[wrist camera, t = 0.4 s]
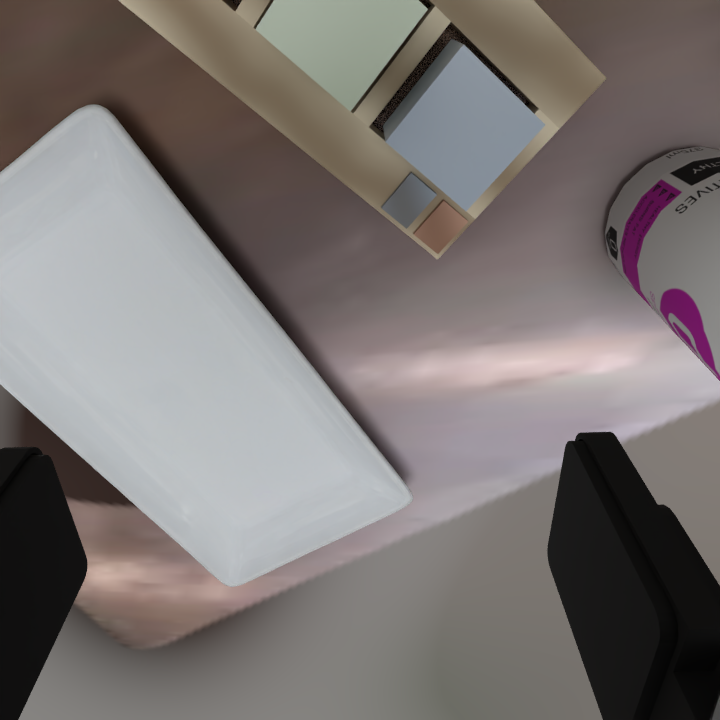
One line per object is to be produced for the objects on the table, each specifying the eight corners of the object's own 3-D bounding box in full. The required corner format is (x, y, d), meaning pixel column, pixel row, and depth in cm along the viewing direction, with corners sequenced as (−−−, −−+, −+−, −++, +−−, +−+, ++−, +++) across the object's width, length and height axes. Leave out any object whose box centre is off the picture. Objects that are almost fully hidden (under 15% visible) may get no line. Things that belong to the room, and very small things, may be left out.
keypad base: (209, -334, 24) (195, -364, 22) (593, 74, 31) (608, 79, 29) (73, -49, 29) (52, -52, 27) (434, 247, 36) (438, 261, 34)
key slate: (451, 38, 29) (463, 44, 25) (524, 110, 30) (545, 124, 27) (382, 125, 31) (385, 141, 27) (454, 188, 32) (465, 211, 29)
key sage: (333, -77, 27) (330, -88, 23) (419, 7, 28) (428, 9, 25) (268, 25, 28) (255, 29, 25) (351, 98, 30) (350, 111, 27)
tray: (118, 84, 32) (93, 93, 29) (415, 473, 46) (419, 507, 43) (-90, 248, 37) (-130, 271, 34) (236, 557, 50) (228, 592, 47)
